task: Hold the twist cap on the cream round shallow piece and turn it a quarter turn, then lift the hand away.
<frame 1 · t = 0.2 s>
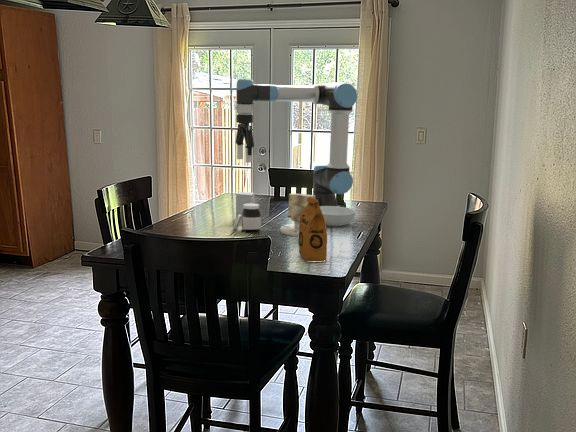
hand: (244, 160, 264), 28 cm above the table, fingers open, 13 cm apart
supplement box: (245, 219, 271), on the table
cream round shallow piece: (301, 231, 249), on the table
spread jar: (246, 231, 249), on the table
twist cap: (300, 207, 247), point 11 cm above the table, hinge at 0.0°
coffee package: (312, 259, 208), on the table
serving bowl: (332, 225, 265), on the table
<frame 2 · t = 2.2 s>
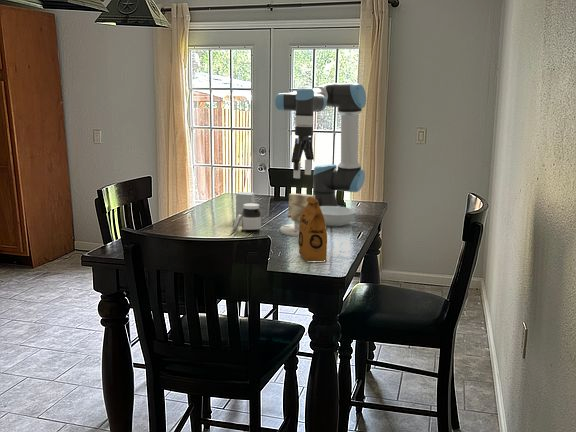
hand: (302, 176, 244), 24 cm above the table, fingers open, 13 cm apart
nothing on the table moved.
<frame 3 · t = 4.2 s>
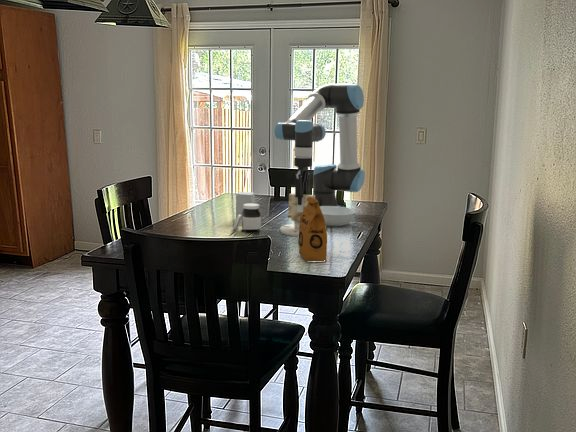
hand: (301, 211, 247), 9 cm above the table, fingers closed on twist cap, 3 cm apart
twist cap: (300, 207, 247), point 11 cm above the table, hinge at 0.0°, touching gripper
everything else where it was.
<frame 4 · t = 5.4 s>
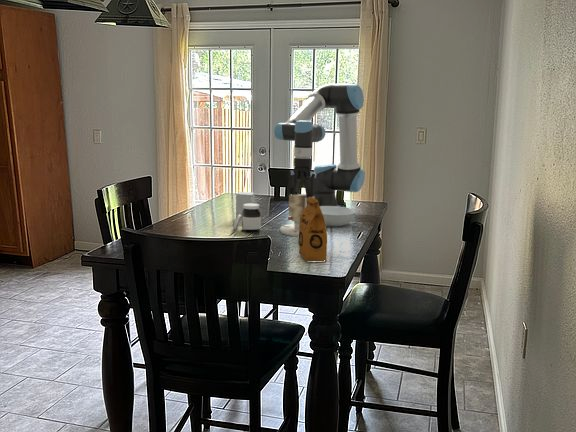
hand: (301, 211, 247), 9 cm above the table, fingers closed on twist cap, 5 cm apart
twist cap: (300, 207, 247), point 11 cm above the table, hinge at 50.5°, touching gripper
everything else where it was.
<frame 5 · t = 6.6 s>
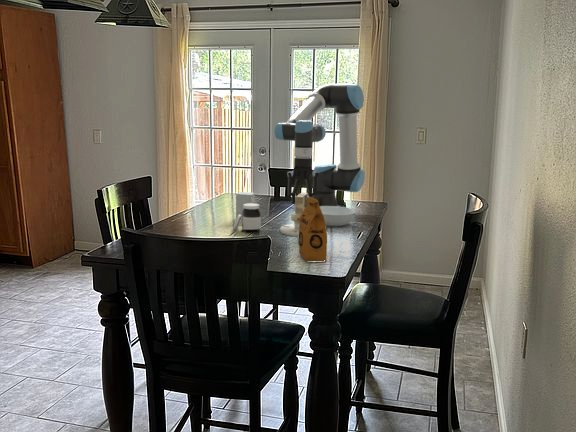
hand: (301, 211, 247), 9 cm above the table, fingers closed on twist cap, 5 cm apart
twist cap: (301, 207, 247), point 11 cm above the table, hinge at 98.1°, touching gripper
everything else where it was.
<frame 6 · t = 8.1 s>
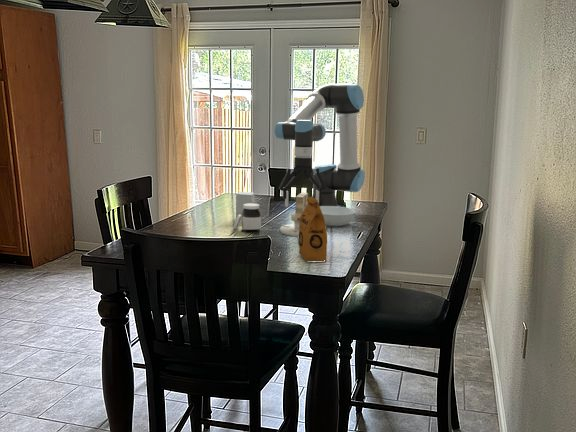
hand: (301, 206, 247), 11 cm above the table, fingers open, 13 cm apart
twist cap: (301, 207, 247), point 11 cm above the table, hinge at 98.2°
everything else where it was.
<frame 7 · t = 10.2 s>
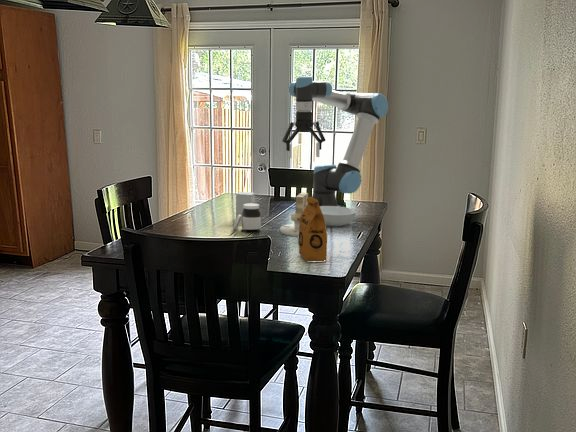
hand: (303, 157, 267), 30 cm above the table, fingers open, 13 cm apart
nothing on the table moved.
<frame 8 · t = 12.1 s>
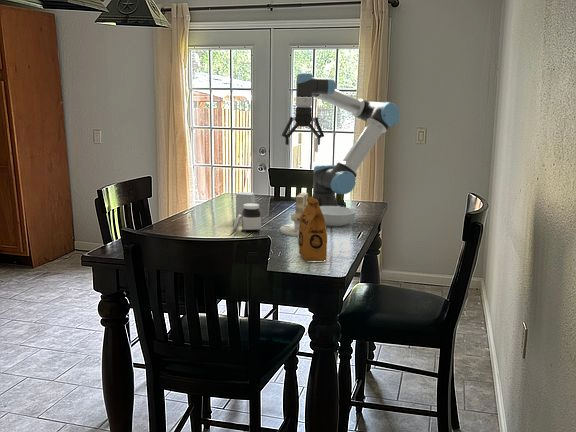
hand: (302, 151, 274), 32 cm above the table, fingers open, 13 cm apart
nothing on the table moved.
at the end: twist cap at +98° (first picture: +0°); the gripper is holding nothing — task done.
